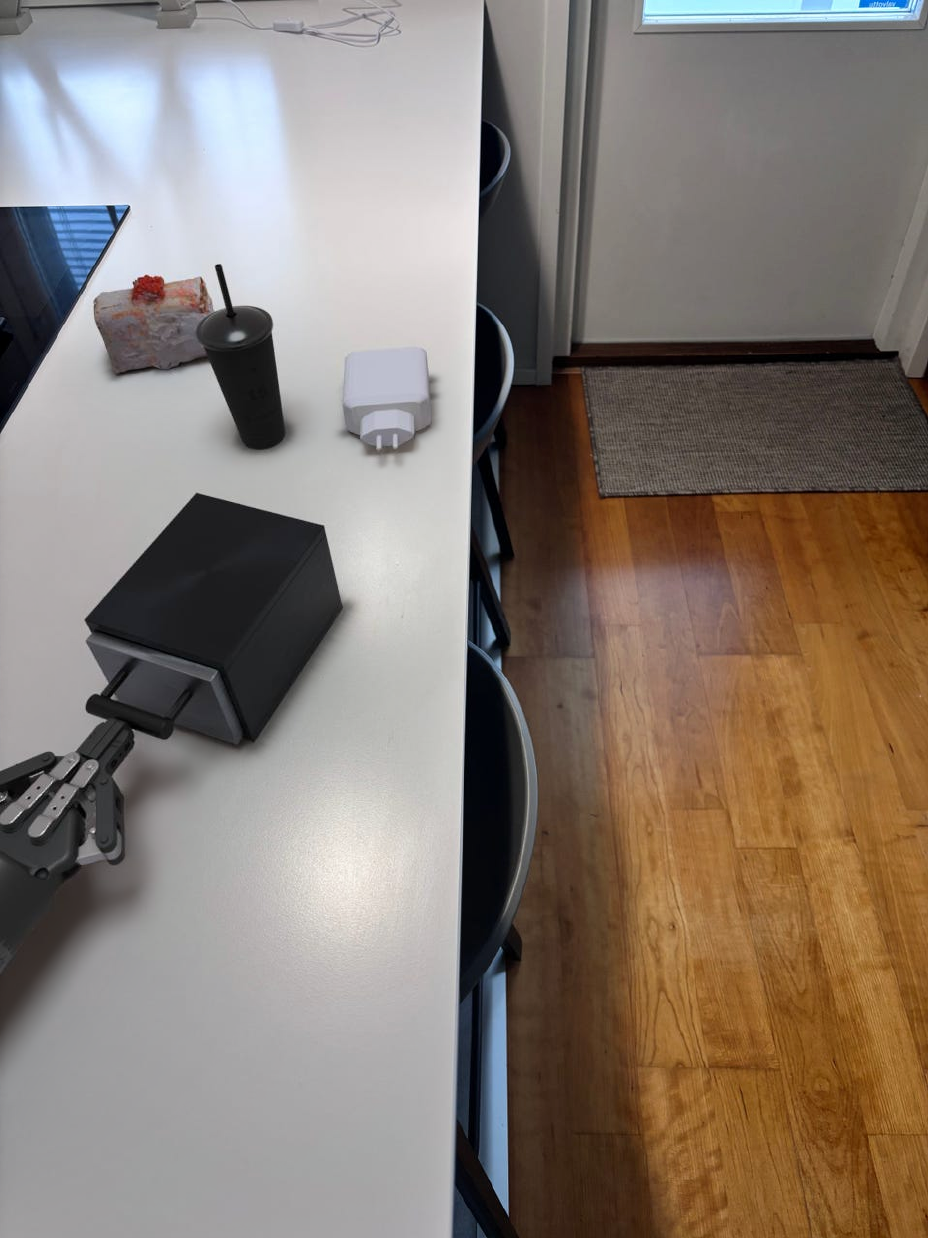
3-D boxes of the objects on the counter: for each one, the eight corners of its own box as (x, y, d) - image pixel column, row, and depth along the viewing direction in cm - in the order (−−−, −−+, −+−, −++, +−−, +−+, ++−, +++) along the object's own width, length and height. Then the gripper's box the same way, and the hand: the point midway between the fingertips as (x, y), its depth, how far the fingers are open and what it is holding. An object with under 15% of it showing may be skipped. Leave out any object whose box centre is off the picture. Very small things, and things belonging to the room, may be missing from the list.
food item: (222, 328, 120) (201, 254, 113) (227, 362, 115) (206, 287, 107) (113, 348, 118) (84, 274, 111) (113, 384, 113) (83, 309, 106)
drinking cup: (215, 436, 105) (162, 266, 90) (272, 406, 108) (230, 237, 93) (253, 467, 101) (204, 295, 86) (311, 435, 104) (274, 264, 89)
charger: (346, 470, 100) (350, 387, 110) (433, 464, 100) (429, 381, 110) (339, 434, 96) (343, 351, 106) (429, 427, 96) (425, 345, 106)
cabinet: (254, 742, 78) (223, 663, 70) (126, 698, 81) (83, 619, 74) (343, 607, 87) (324, 525, 79) (225, 574, 91) (196, 492, 83)
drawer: (208, 788, 74) (177, 726, 68) (88, 745, 77) (48, 682, 71) (323, 617, 85) (306, 550, 79) (214, 586, 88) (189, 519, 82)
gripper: (14, 944, 56) (182, 722, 67) (-147, 868, 60) (35, 669, 71) (60, 992, 62) (209, 780, 72) (-90, 919, 66) (71, 728, 76)
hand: (123, 726), depth 71 cm, fingers closed
